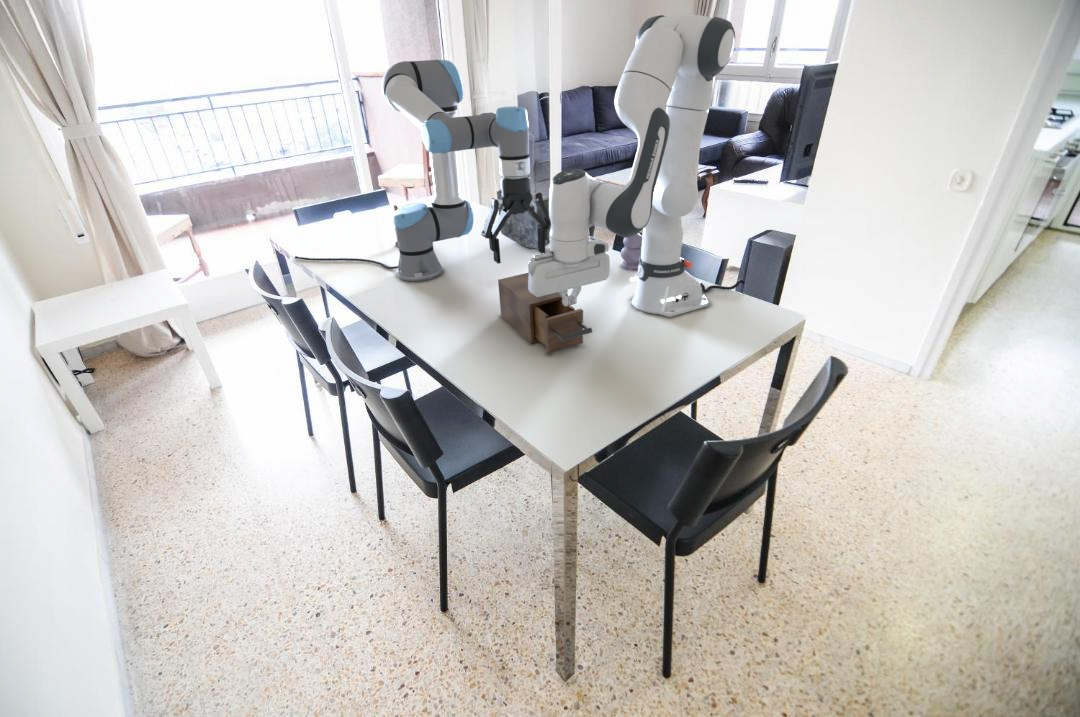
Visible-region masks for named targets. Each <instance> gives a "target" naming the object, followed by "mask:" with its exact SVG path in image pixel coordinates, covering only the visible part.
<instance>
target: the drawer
mask: <svg viewBox="0 0 1080 717" xmlns="http://www.w3.org/2000/svg"><path fill="white" fill-rule="evenodd" d="M533 323H534V336H535V337H536V338H537V339H538V340H539V343H541V344H542V345H544V346H545V351H546V353H547V354H548V355H550V354H552V353H557V352H559V351H563V350H566V349H569V348H572V347H576V346H578V345H582V344H583V343H584V342H583V341H584V336H585V335H588V334H592V333H593V328H592V327H588V326H586V325H585V324H584V310H583V309H582V308H578V309H575V307H573V305H569V306H564V305H563V303H562V299H561V300H558V301H554V302H550V303H546V304H542V305H539V306H535V307H533Z"/></svg>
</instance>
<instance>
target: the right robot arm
mask: <svg viewBox="0 0 1080 717" xmlns="http://www.w3.org/2000/svg"><path fill="white" fill-rule="evenodd" d="M735 44H736V31H735V28H734V26H733V23H732V22H731V21H730V20H727V19H725V18H723V17H718V16H714V17H710V16H705V15H700V14H699V15H698V14H686V15H685V14H684V15H683V14H681V15H679V14H678V15H663V14H660V15H654V16H651V17H649V18H647V19H646V20H645V21H644V22H643V23H642V24H641V26H640V27H639V28H638V30H637V34H636V36H635V42H634V48H633V50H632V51H631V54H630V56H629V58H628V60H627V62H626V64H625V67H624V69H623V72H622V74H621V76H620V79H619V82H618V84H617V88H616V90H615V94H614V100H613V105H614V109H615V114H616V115H617V117H618V118H619V120H620V121H621V122H622V123H623V125H625V126H626V127H627V128H628V129H629V130H631V131H632V132H633V133H635V136H636V137H637V149H636V152H635V157H634V160H633V163H632V167H631V171H630V172H631V173H630V175H629V179H628V181H627V182H626V184H625V185H620V184H615V183H612V182H609V181H604V180H600V179H597V178H594V177H592V176H591V175H589V174H588V173H587V171H586V170H584V169H579V168H572V169H565V170H563V171H560V172H558V173H556V174H555V175H554V176H553V177H552V180H551V181H550V185H549V192H548V197H549V218H550V221H551V226H550V234H549V238H550V244H549V251H548V252H545V253H544V254H543V253H541V254H535V255H533V257H532V258H531V259H529V261H528V263H527V266H528V267H527V270H528V273H529V277H528V290H529V291H530V292H531V293H532V294H533V295H535V296H536V297H540V296H544V295H548V294H552V293H556V292H559V294H560V295H561V297H562V303H563V305H564V306H569V305H571V306H573V305H577V303H578V297H579V295H580V293H581V291H582V287H583V286H587V285H592V284H595V283H599V282H603V281H606V280H608V278H609V276H610V273H611V264H610V263H611V261H610V256H609V254H608V252H609V249H610V248H609V246H610V245H609V244H608V243H607V242H605V241H604V240H602V239H599V238H597V237H594V236H591V235H590V228H592V227H596V228H599V229H602V230H606V231H608V232H610V233H612V234H614V235H617V236H619V237H621V238H623V239H624V238H629V237H632V236H634V235H636V234H637V233H639V234H640V232H641V236H642V246H641V256H640V257H639V265H638V269H637V276H634V277H630V278H629V281H630V282H635V281H636V282H637V284H636V287H635V290H634V295H633V297H632V299H631V304H632V306H633V307H634V308H635V309H637V310H639V311H641V312H644V313H647V314H648V313H649V314H655V315H661V316H664V317H668V318H672V317H675V316H679V315H683V314H685V313H689V312H693V311H696V310H700V309H703V308H706V307H708V306H709V299H708V298H707V296H705V294H704V293H708V292H709V291H710V290H713V289H718V290H725V291H730V290H734V289H736V288H737V287H738V286H739V285H740V284H746V282H745V280H744V279H742V278H740V279H738V280H737V281H736V283H734V284H733V285H732V286H724V285H710V286H709V285H708V287H705V285H704V284H703V282H701V281H700V280H698V279H697V278H696V277H695V276H693V275H692V274H691V273H689V272H688V271H687V270H685V268H686V269H688V270H689V269H692V267H693V263H692V261H690V260H688V259H684V258H683V257H681V255H682V248H683V240H684V239H683V238H684V229H683V223H682V218H683V217H684V216H687V215H688V214H689V213H691V212H692V211H693V210H694V209H695V208H696V206H697V205H698V204H697V203H698V201H699V189H698V188H699V187H698V174H699V161H700V151H701V146H702V140H703V136H704V131H705V127H706V124H707V119H708V117H709V116H708V115H709V111H710V107H711V102H712V98H713V94H714V84H715V78H716V76H718V75H719V74H720V73H721V72H722V71H724V69H725V68H726V67H727V66H728V65H729V62H730V60H731V58H732V56H733V53H734V50H735ZM726 289H727V290H726ZM569 290H572V291H571V293H570V295H568V296H566V294H568V293H569V292H568V291H569Z"/></svg>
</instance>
